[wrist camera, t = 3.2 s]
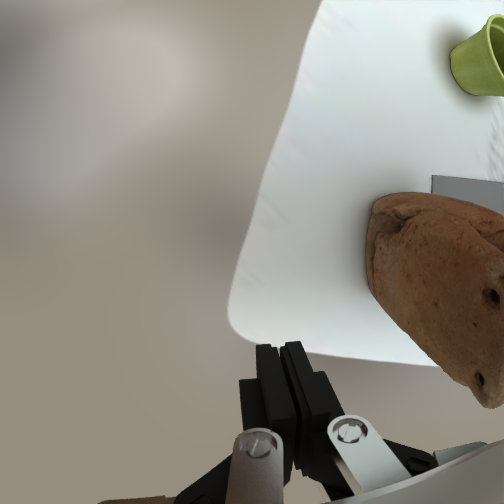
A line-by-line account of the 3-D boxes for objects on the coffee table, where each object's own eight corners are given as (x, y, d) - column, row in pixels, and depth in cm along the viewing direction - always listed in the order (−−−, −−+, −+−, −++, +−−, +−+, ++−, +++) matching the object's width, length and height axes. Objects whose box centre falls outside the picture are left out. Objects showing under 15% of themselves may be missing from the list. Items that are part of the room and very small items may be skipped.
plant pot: (423, 51, 24) (473, 29, 15) (461, 24, 22) (507, 5, 14) (468, 123, 26) (523, 120, 18) (501, 88, 25) (550, 82, 17)
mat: (536, 188, 29) (537, 188, 28) (523, 282, 33) (524, 283, 32) (432, 175, 27) (433, 175, 27) (419, 301, 31) (420, 303, 31)
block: (421, 285, 31) (549, 387, 12) (361, 299, 31) (478, 437, 11) (421, 185, 28) (592, 230, 9) (356, 192, 28) (534, 253, 8)
